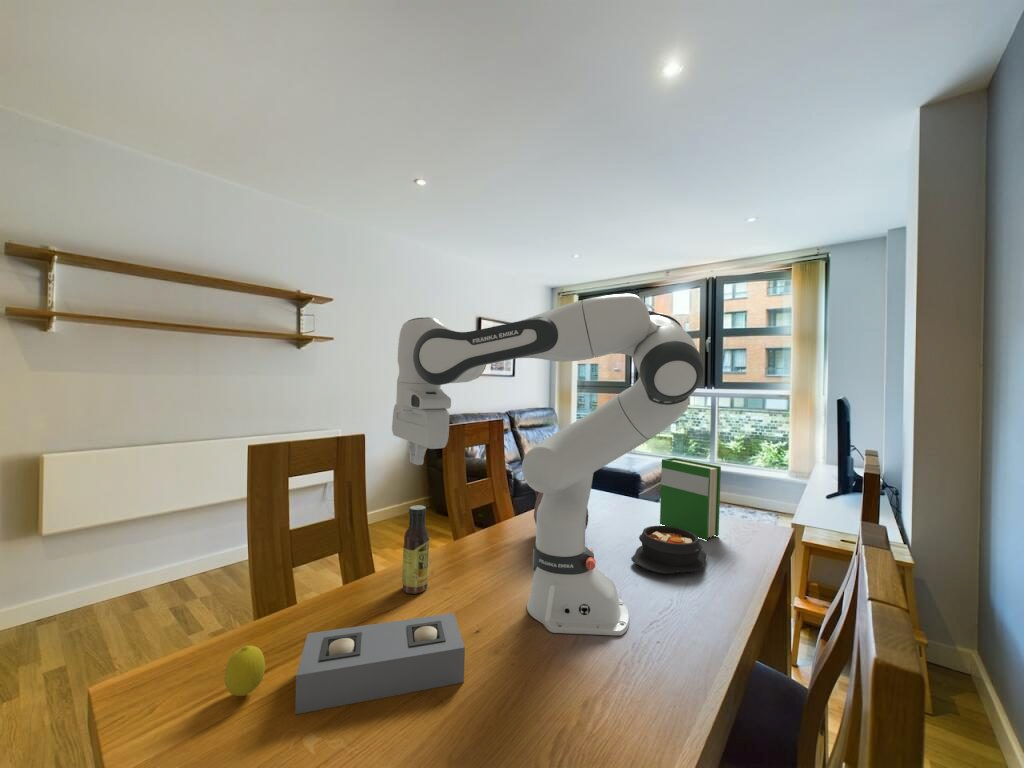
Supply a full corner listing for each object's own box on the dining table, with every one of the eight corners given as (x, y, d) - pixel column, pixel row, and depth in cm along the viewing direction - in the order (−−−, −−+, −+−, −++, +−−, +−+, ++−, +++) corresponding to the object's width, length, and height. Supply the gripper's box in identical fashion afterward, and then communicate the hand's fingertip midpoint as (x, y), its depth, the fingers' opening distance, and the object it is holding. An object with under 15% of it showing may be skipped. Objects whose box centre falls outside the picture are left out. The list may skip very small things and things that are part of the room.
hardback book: (718, 537, 144) (720, 466, 143) (706, 542, 139) (708, 468, 139) (672, 522, 158) (674, 457, 158) (659, 525, 154) (661, 459, 153)
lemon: (236, 683, 71) (236, 636, 71) (271, 682, 72) (271, 635, 72) (216, 709, 66) (216, 658, 66) (254, 708, 66) (254, 657, 66)
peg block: (453, 643, 83) (454, 611, 83) (463, 682, 73) (464, 646, 73) (307, 666, 76) (307, 632, 76) (295, 714, 65) (296, 673, 65)
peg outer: (354, 669, 75) (354, 636, 75) (352, 685, 71) (353, 650, 71) (329, 673, 74) (330, 640, 73) (326, 689, 70) (327, 654, 70)
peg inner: (434, 655, 79) (435, 624, 79) (437, 670, 75) (438, 637, 75) (412, 659, 78) (413, 627, 78) (414, 674, 74) (415, 641, 74)
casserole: (674, 589, 108) (675, 555, 107) (615, 562, 122) (616, 533, 122) (722, 564, 123) (723, 535, 123) (664, 543, 138) (665, 517, 137)
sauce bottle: (421, 596, 100) (423, 512, 100) (397, 593, 102) (399, 510, 101) (432, 583, 107) (434, 504, 107) (409, 580, 108) (410, 502, 108)
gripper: (385, 394, 95) (384, 456, 95) (425, 400, 78) (423, 475, 79) (412, 394, 98) (410, 453, 99) (455, 400, 82) (453, 471, 82)
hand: (416, 463), depth 89 cm, fingers closed
